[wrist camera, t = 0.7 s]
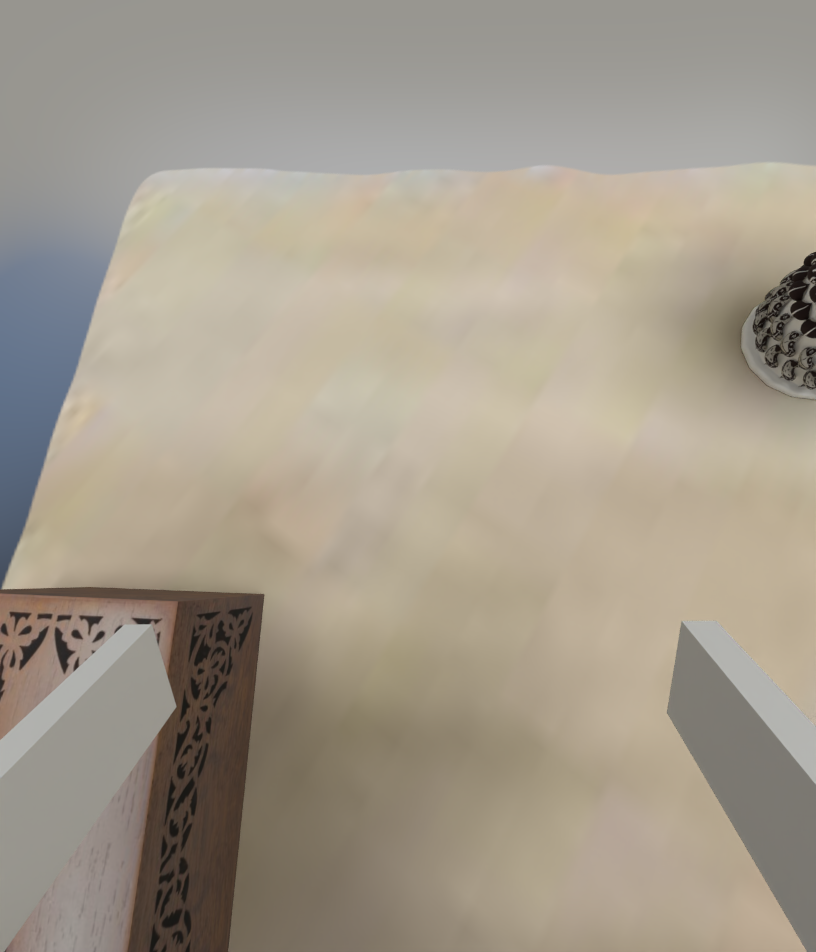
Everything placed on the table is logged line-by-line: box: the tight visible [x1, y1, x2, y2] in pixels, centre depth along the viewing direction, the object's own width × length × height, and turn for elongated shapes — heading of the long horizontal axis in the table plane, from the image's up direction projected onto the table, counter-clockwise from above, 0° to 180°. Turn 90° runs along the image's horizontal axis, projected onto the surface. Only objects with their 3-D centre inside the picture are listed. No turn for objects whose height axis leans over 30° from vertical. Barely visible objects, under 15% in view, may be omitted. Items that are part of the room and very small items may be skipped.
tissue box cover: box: [0, 587, 264, 952], centre depth 25 cm, size 26×14×10 cm, turn 178°
